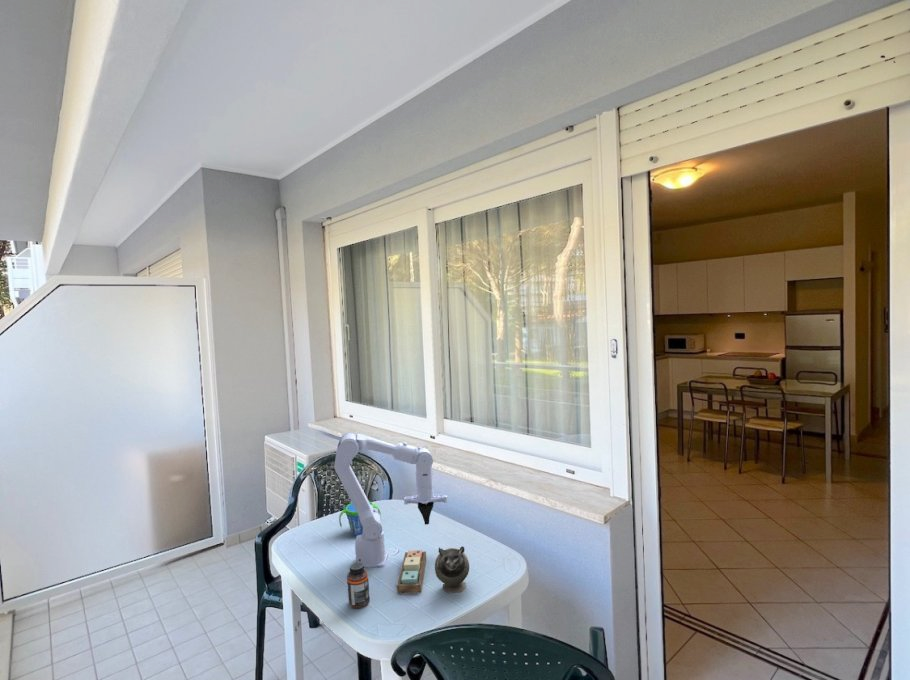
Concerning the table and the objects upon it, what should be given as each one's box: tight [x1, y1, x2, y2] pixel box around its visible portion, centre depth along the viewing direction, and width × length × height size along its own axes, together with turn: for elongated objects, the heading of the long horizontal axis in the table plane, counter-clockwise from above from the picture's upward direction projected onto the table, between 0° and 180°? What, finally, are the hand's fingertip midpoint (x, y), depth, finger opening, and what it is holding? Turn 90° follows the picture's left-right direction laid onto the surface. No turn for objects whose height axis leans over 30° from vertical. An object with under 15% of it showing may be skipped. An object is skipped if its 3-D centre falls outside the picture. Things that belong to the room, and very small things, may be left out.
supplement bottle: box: [346, 561, 371, 609], centre depth 136 cm, size 6×6×11 cm
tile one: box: [404, 557, 421, 572], centre depth 149 cm, size 5×5×3 cm
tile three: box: [407, 549, 423, 561], centre depth 156 cm, size 5×5×3 cm
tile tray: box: [396, 551, 427, 595], centre depth 149 cm, size 7×19×2 cm, turn 179°
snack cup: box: [338, 500, 382, 537], centre depth 181 cm, size 16×11×10 cm
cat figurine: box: [434, 546, 470, 594], centre depth 141 cm, size 10×12×10 cm
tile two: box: [401, 571, 419, 584], centre depth 143 cm, size 5×5×3 cm
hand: (427, 523), depth 162 cm, fingers closed
